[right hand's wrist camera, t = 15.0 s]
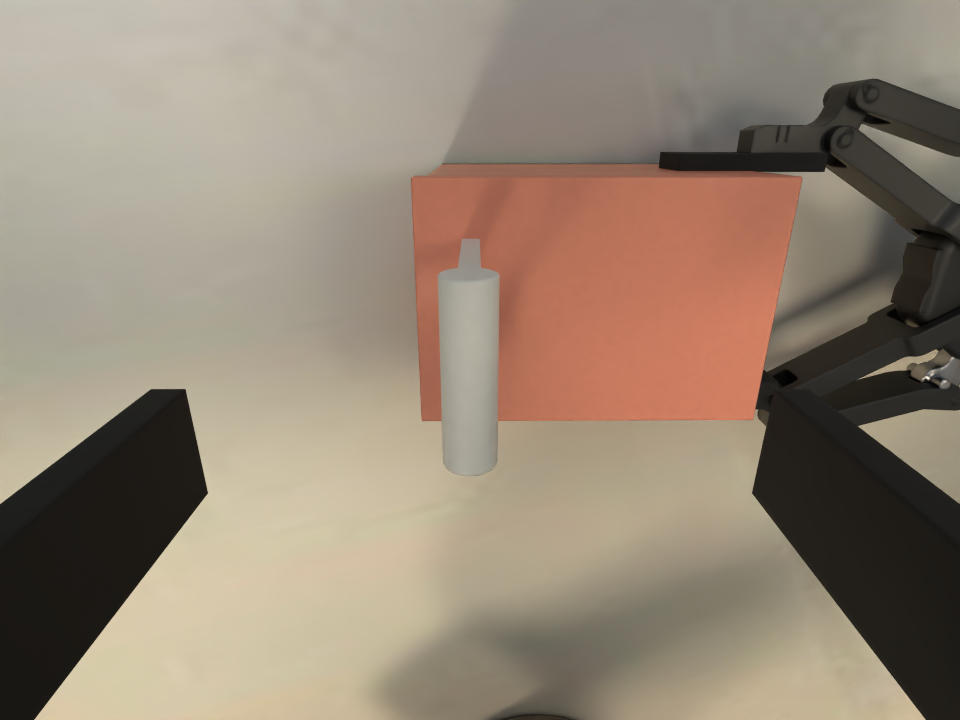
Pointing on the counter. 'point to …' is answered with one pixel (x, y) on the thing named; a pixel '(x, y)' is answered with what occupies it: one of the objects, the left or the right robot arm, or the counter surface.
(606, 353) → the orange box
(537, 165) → the chest
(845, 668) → the counter surface
